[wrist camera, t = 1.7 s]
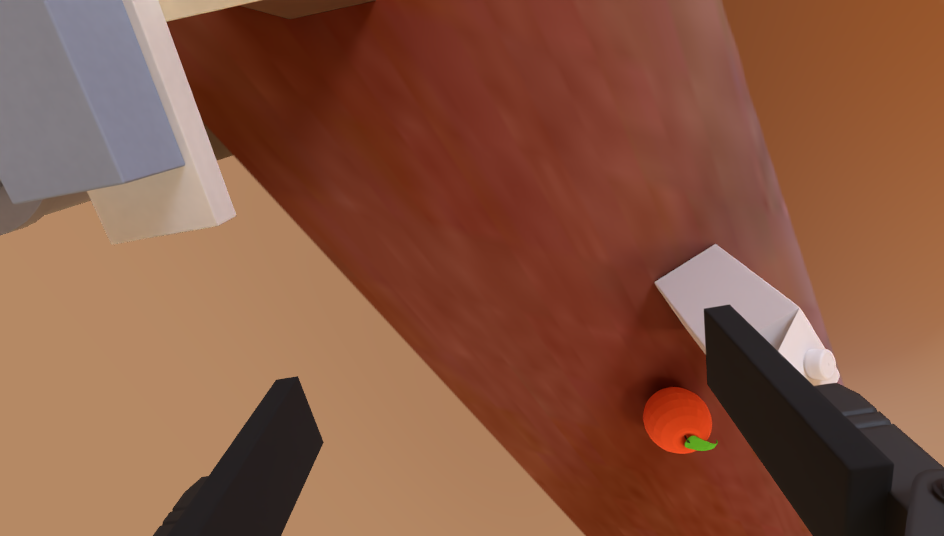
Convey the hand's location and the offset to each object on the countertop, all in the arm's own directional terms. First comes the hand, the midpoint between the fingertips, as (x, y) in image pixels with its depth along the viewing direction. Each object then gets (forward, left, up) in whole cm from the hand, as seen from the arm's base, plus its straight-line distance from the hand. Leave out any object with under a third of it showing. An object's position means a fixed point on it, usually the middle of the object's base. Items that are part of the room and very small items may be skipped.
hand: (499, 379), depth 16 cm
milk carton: (+16, -19, -35) cm, 43 cm away
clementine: (+10, -32, -35) cm, 48 cm away
